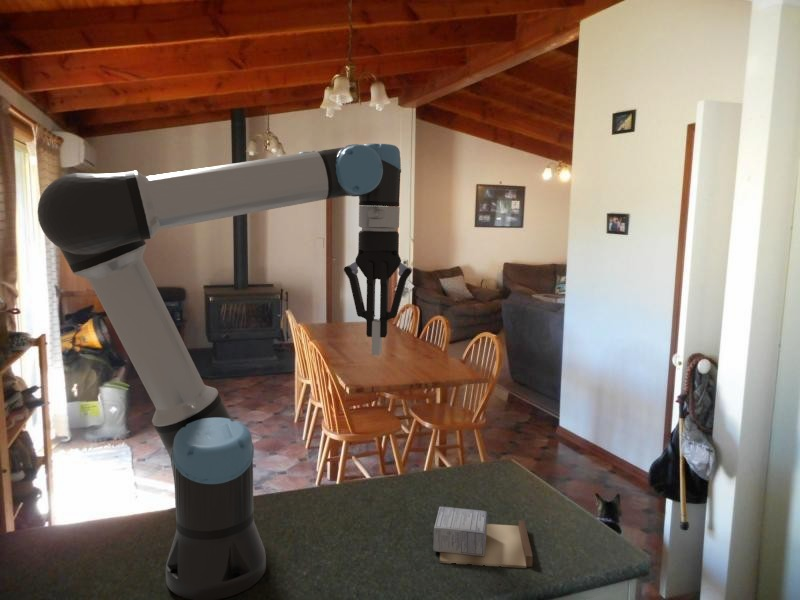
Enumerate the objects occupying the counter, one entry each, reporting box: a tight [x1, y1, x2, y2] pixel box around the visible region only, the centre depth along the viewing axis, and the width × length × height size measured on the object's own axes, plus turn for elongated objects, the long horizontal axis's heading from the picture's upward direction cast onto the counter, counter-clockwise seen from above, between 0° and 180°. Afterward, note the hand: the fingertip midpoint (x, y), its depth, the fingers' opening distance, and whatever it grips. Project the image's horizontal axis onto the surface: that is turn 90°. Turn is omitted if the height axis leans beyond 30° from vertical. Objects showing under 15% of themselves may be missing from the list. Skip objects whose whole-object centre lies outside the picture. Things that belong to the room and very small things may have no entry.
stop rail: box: [517, 519, 534, 568], centre depth 107 cm, size 1×12×2 cm, turn 175°
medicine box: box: [432, 506, 488, 556], centre depth 107 cm, size 8×4×9 cm
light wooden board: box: [439, 523, 527, 569], centre depth 108 cm, size 14×13×1 cm
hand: (376, 353), depth 119 cm, fingers closed
